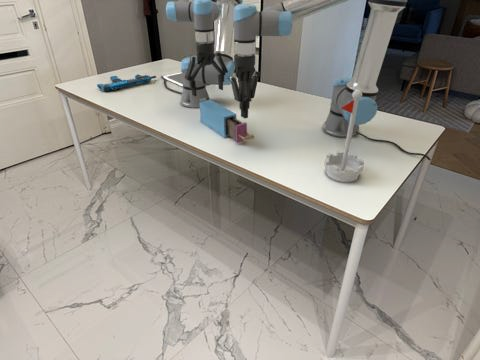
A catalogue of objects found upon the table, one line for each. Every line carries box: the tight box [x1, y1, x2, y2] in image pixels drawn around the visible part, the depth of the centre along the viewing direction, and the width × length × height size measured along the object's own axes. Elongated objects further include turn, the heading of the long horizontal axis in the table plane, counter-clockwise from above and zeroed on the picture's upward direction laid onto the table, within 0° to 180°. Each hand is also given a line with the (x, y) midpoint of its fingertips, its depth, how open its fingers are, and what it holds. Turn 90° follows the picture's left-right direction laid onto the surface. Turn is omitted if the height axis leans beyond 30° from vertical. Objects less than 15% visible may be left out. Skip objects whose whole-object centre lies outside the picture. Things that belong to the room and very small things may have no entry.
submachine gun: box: [96, 74, 157, 92], centre depth 207 cm, size 34×4×25 cm
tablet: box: [160, 72, 209, 88], centre depth 213 cm, size 32×20×1 cm, turn 41°
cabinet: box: [199, 99, 237, 139], centre depth 150 cm, size 21×6×9 cm, turn 34°
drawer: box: [226, 117, 255, 144], centre depth 142 cm, size 25×5×8 cm, turn 34°
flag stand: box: [323, 90, 365, 183], centre depth 111 cm, size 13×13×30 cm
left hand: (207, 92), depth 151 cm, fingers open, 13 cm apart
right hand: (244, 117), depth 132 cm, fingers closed
